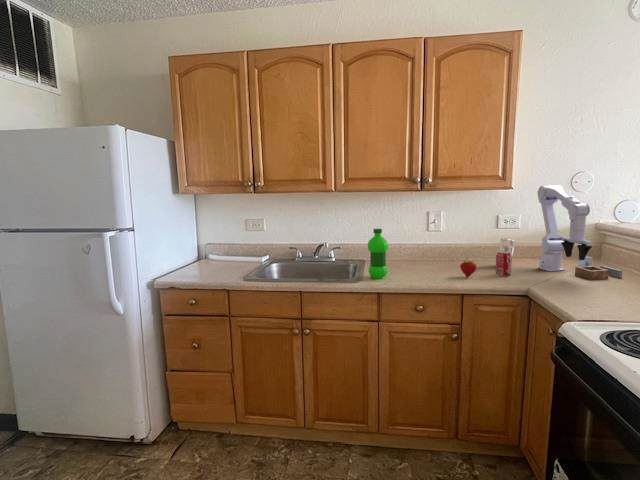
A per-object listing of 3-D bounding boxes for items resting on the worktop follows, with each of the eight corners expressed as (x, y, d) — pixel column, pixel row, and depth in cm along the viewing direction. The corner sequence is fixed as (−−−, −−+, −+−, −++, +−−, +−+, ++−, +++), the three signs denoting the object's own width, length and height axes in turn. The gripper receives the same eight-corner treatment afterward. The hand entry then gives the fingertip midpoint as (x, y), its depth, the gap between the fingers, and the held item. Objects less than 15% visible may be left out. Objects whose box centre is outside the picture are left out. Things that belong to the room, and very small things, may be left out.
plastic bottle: (371, 274, 188) (370, 227, 184) (390, 276, 183) (390, 228, 179) (365, 279, 179) (364, 230, 175) (385, 281, 174) (385, 230, 170)
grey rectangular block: (584, 271, 179) (585, 258, 178) (578, 269, 183) (579, 256, 181) (591, 271, 179) (593, 257, 178) (585, 269, 183) (586, 255, 182)
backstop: (618, 278, 165) (619, 270, 165) (599, 272, 175) (600, 265, 175) (621, 277, 166) (622, 270, 165) (602, 272, 175) (603, 265, 175)
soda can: (510, 274, 179) (511, 250, 177) (511, 277, 172) (512, 253, 170) (495, 273, 182) (496, 250, 180) (495, 276, 175) (496, 252, 173)
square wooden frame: (590, 279, 164) (591, 271, 164) (574, 274, 173) (575, 266, 173) (608, 278, 165) (609, 270, 165) (591, 273, 174) (592, 265, 174)
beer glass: (514, 265, 195) (516, 238, 193) (510, 268, 190) (512, 240, 188) (501, 264, 200) (502, 237, 198) (497, 266, 195) (498, 239, 193)
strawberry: (475, 279, 172) (476, 259, 170) (459, 277, 175) (459, 258, 174) (476, 276, 177) (477, 256, 175) (460, 275, 180) (461, 255, 179)
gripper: (598, 231, 158) (596, 261, 160) (572, 227, 172) (570, 254, 175) (584, 232, 157) (582, 261, 159) (559, 228, 172) (557, 255, 174)
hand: (575, 258), depth 167 cm, fingers open, 7 cm apart
